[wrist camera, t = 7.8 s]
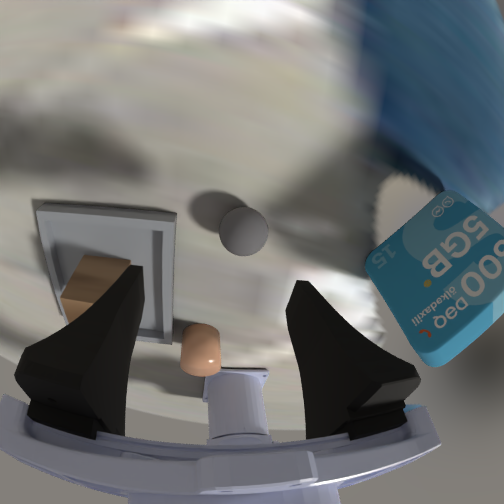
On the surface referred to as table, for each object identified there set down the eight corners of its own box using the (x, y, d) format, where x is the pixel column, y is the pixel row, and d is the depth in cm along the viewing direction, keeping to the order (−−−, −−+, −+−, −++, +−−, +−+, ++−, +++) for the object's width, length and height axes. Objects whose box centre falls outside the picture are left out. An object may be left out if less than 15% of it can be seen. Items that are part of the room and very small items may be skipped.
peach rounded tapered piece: (217, 347, 30) (219, 377, 27) (182, 345, 29) (180, 374, 26) (221, 324, 28) (223, 356, 25) (182, 321, 27) (180, 353, 24)
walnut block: (134, 299, 24) (122, 345, 20) (91, 293, 23) (73, 336, 19) (131, 260, 22) (113, 306, 17) (84, 254, 21) (59, 297, 16)
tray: (173, 333, 28) (172, 344, 27) (71, 318, 26) (67, 328, 24) (176, 213, 20) (174, 222, 19) (44, 202, 18) (35, 210, 17)
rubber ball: (259, 242, 23) (265, 268, 20) (216, 237, 22) (216, 263, 19) (268, 202, 21) (277, 224, 18) (222, 196, 20) (223, 218, 17)
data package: (446, 184, 21) (534, 253, 11) (456, 214, 23) (530, 284, 14) (358, 260, 25) (419, 361, 15) (376, 283, 27) (430, 375, 17)
